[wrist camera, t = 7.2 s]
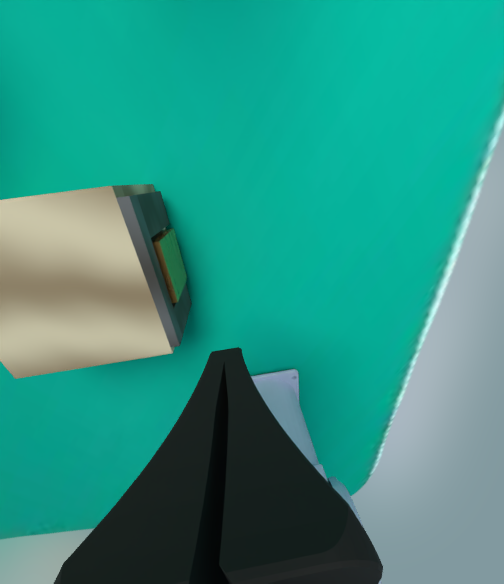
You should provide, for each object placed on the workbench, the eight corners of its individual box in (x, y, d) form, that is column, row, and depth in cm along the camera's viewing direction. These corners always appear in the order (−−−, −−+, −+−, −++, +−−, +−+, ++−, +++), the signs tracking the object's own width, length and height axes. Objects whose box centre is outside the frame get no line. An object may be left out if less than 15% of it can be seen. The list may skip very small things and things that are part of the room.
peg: (187, 278, 18) (177, 302, 14) (15, 303, 17) (-39, 335, 14) (173, 228, 16) (159, 241, 13) (-20, 254, 16) (-92, 276, 12)
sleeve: (194, 304, 20) (181, 351, 15) (75, 322, 20) (15, 378, 14) (161, 183, 16) (125, 184, 10) (6, 203, 15) (-123, 215, 10)
